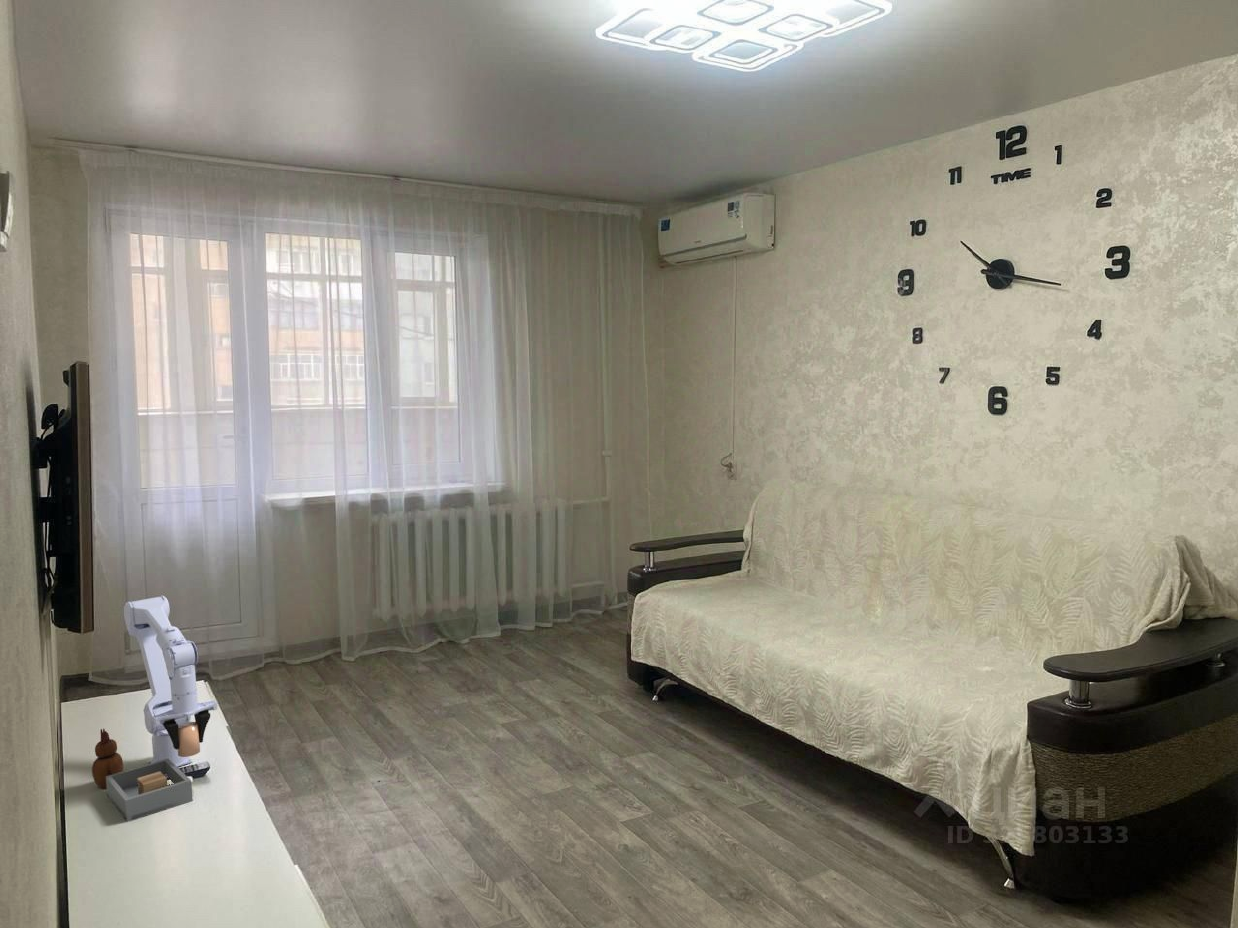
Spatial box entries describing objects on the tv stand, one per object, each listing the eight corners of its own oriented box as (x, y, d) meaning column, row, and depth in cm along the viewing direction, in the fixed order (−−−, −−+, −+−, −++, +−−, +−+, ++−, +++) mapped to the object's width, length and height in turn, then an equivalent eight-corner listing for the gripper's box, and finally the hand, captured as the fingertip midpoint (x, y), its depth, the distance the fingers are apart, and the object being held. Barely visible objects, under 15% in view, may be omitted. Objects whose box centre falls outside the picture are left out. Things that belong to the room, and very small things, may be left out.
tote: (107, 796, 215) (105, 776, 214) (169, 777, 224) (168, 758, 224) (127, 821, 202) (125, 800, 201) (192, 800, 211) (190, 780, 211)
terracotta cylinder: (175, 752, 222) (173, 725, 222) (196, 746, 226) (194, 720, 225) (181, 758, 219) (179, 731, 218) (203, 752, 222) (200, 725, 222)
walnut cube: (138, 798, 211) (137, 778, 210) (161, 791, 214) (160, 771, 214) (145, 805, 207) (143, 784, 207) (168, 797, 211) (166, 777, 210)
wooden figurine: (109, 791, 218) (103, 732, 216) (88, 789, 219) (83, 731, 217) (129, 779, 224) (124, 721, 223) (109, 777, 225) (104, 720, 224)
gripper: (157, 703, 213) (162, 758, 214) (219, 687, 223) (224, 740, 224) (148, 696, 218) (153, 750, 219) (210, 681, 228) (214, 732, 229)
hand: (188, 744), depth 222 cm, fingers closed on terracotta cylinder, 5 cm apart
